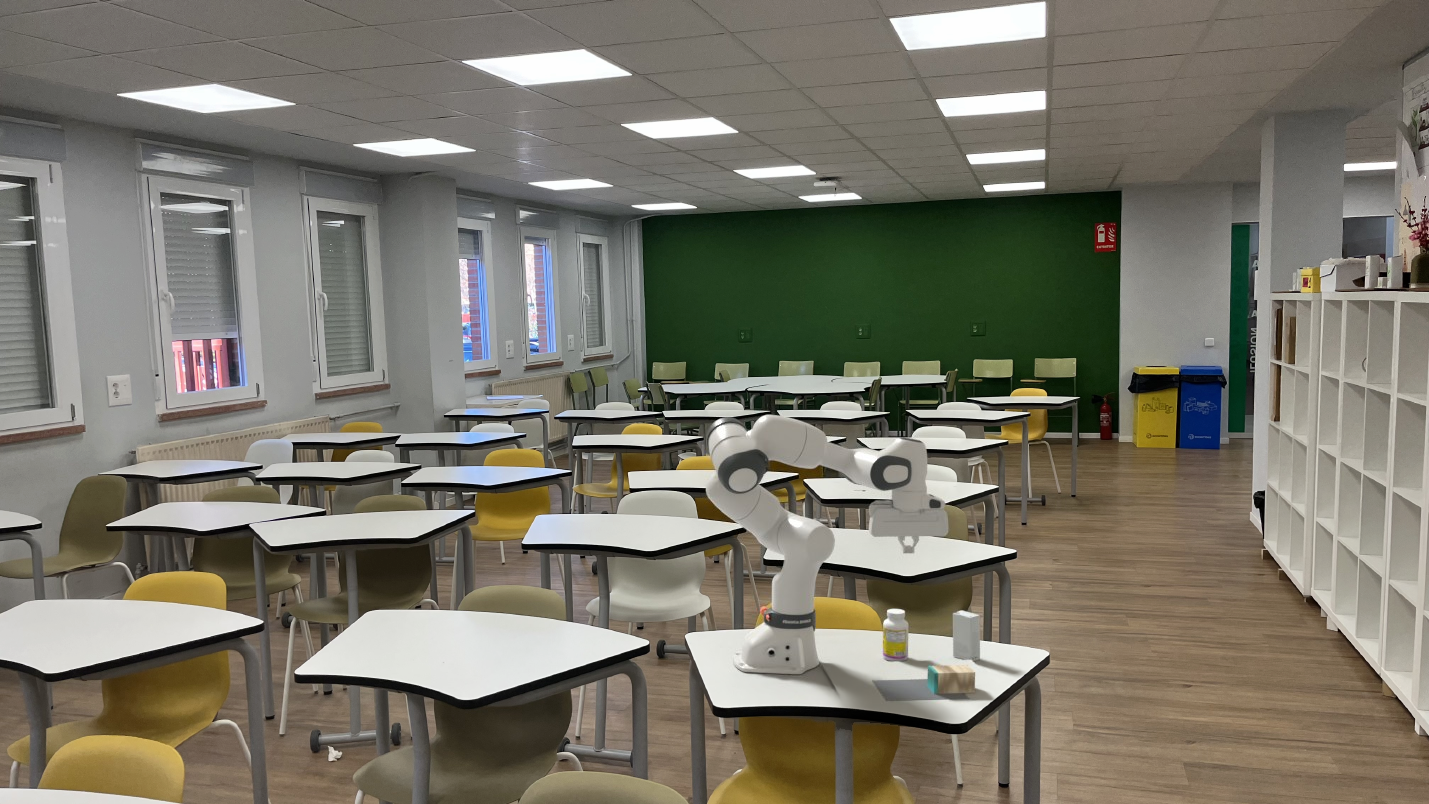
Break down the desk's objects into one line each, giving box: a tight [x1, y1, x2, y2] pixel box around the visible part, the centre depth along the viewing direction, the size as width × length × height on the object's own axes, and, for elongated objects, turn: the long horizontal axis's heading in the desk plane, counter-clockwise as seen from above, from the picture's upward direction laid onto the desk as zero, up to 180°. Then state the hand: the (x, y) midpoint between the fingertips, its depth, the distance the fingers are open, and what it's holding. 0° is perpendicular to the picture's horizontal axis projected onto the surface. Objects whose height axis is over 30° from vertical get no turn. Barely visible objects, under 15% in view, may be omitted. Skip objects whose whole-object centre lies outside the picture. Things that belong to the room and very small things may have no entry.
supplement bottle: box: [882, 608, 909, 663], centre depth 256 cm, size 7×7×13 cm
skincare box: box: [952, 610, 981, 662], centre depth 257 cm, size 6×4×12 cm
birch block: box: [926, 664, 976, 694], centre depth 232 cm, size 5×5×10 cm
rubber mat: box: [872, 678, 971, 702], centre depth 232 cm, size 20×13×1 cm, turn 95°
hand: (907, 552), depth 249 cm, fingers closed
